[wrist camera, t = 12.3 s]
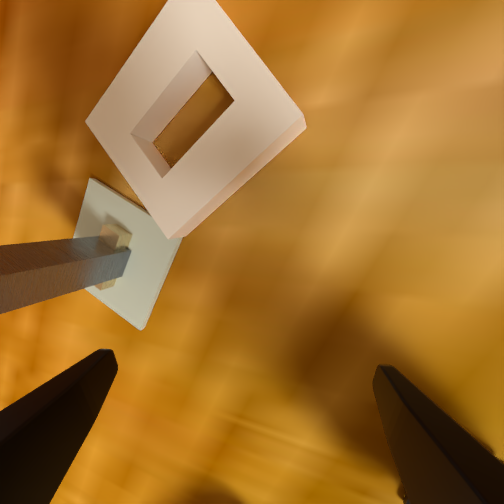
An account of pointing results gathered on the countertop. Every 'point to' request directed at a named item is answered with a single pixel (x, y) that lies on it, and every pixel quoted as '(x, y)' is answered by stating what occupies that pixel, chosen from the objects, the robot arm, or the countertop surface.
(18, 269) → the t key
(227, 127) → the cover plate
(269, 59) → the countertop surface
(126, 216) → the key mat
